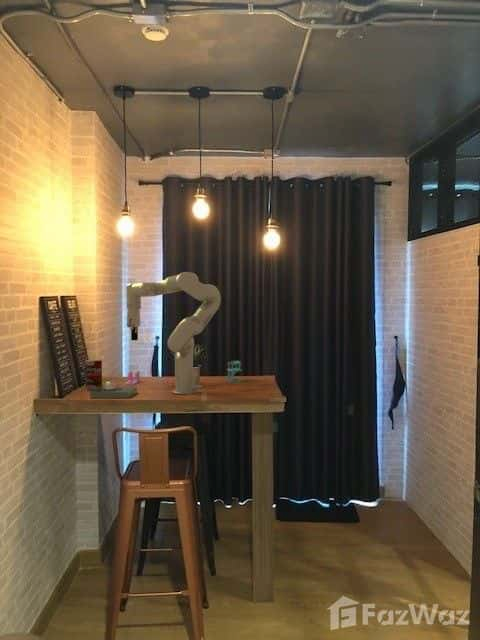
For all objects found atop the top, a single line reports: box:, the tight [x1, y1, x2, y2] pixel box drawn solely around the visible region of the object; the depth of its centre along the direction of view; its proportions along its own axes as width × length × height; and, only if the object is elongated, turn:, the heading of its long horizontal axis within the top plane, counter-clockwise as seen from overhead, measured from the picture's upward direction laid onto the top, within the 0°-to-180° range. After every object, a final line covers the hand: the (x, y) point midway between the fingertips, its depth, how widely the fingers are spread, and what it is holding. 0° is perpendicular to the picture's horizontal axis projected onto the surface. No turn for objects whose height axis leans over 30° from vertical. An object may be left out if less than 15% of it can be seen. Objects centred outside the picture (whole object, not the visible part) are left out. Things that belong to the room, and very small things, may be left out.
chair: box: [226, 360, 244, 383], centre depth 302 cm, size 8×8×12 cm
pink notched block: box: [124, 370, 141, 387], centre depth 297 cm, size 13×6×7 cm, turn 176°
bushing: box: [104, 380, 116, 391], centre depth 265 cm, size 5×5×7 cm
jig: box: [89, 386, 138, 399], centre depth 265 cm, size 20×14×3 cm
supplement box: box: [85, 359, 103, 391], centre depth 283 cm, size 9×5×16 cm, turn 105°
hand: (134, 340), depth 277 cm, fingers closed
